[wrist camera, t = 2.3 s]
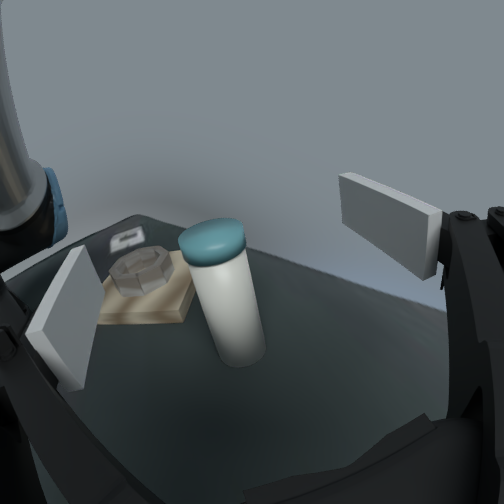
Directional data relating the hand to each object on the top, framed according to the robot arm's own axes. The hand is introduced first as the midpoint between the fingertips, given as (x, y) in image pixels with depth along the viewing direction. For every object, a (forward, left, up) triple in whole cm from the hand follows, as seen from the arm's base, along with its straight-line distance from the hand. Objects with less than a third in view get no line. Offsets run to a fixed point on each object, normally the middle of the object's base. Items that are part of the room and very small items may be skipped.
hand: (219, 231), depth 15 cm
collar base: (-19, +22, -17) cm, 34 cm away
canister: (-3, +9, -18) cm, 20 cm away
